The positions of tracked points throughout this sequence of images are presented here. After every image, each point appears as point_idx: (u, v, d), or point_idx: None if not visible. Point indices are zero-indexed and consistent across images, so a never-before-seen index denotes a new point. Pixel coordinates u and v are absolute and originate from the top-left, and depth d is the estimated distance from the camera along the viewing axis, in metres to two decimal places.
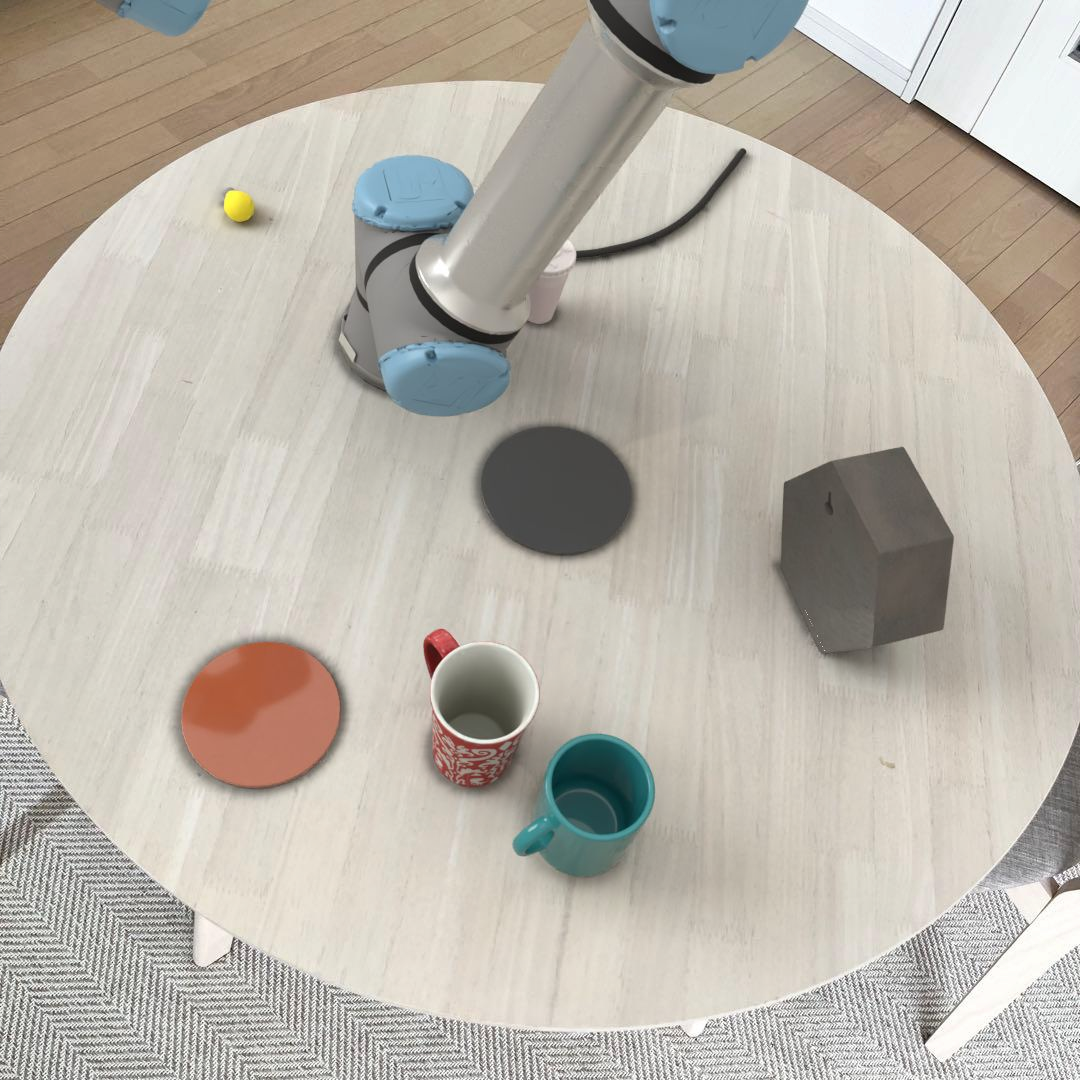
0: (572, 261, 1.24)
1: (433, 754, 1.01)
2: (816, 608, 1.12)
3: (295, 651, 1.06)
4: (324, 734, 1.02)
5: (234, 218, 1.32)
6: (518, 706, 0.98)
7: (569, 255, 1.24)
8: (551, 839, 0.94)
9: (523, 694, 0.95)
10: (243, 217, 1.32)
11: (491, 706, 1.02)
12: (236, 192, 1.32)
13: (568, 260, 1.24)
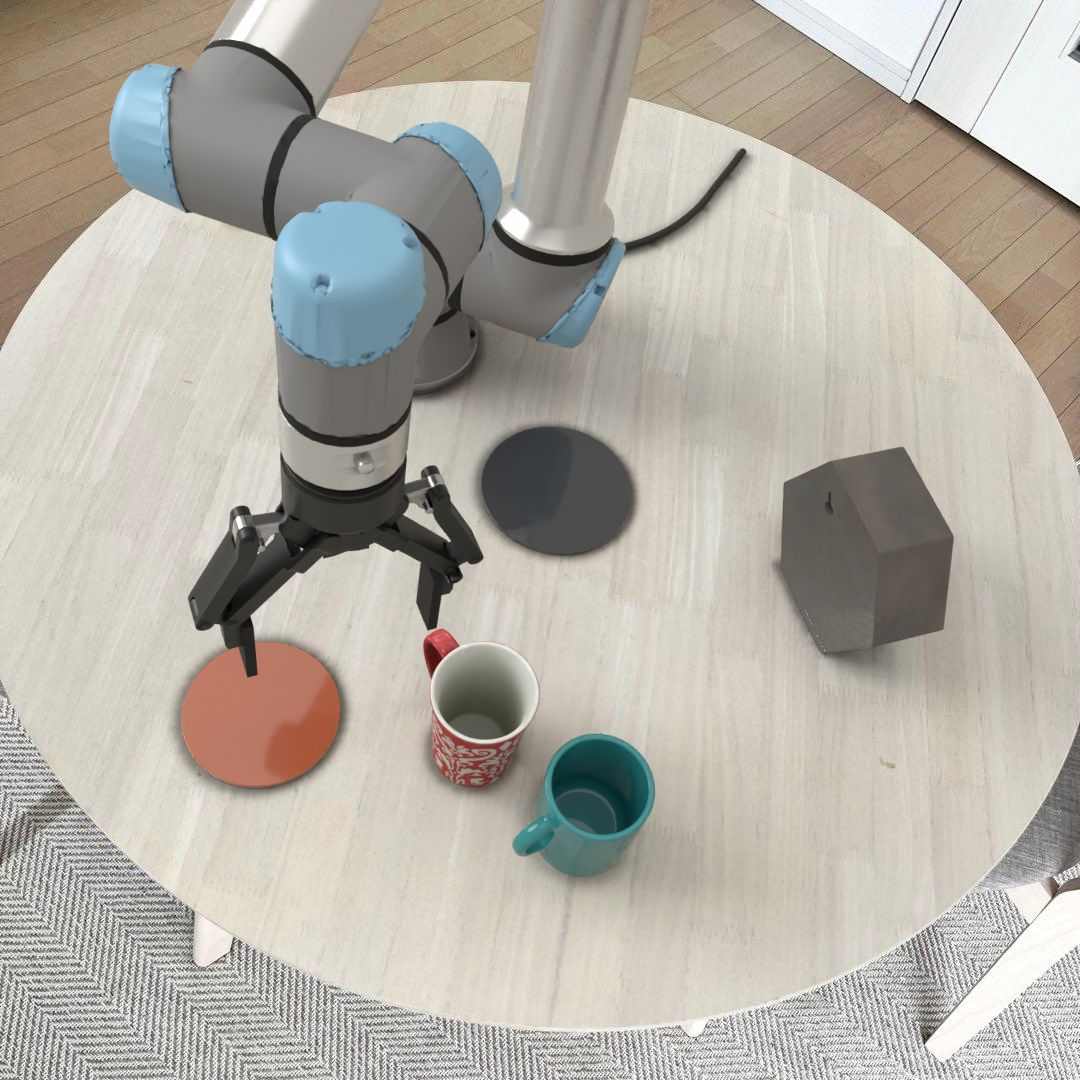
0: None
1: (433, 754, 1.01)
2: (816, 608, 1.12)
3: (295, 651, 1.06)
4: (324, 734, 1.02)
5: None
6: (518, 706, 0.98)
7: None
8: (551, 839, 0.94)
9: (523, 694, 0.95)
10: None
11: (491, 706, 1.02)
12: None
13: None
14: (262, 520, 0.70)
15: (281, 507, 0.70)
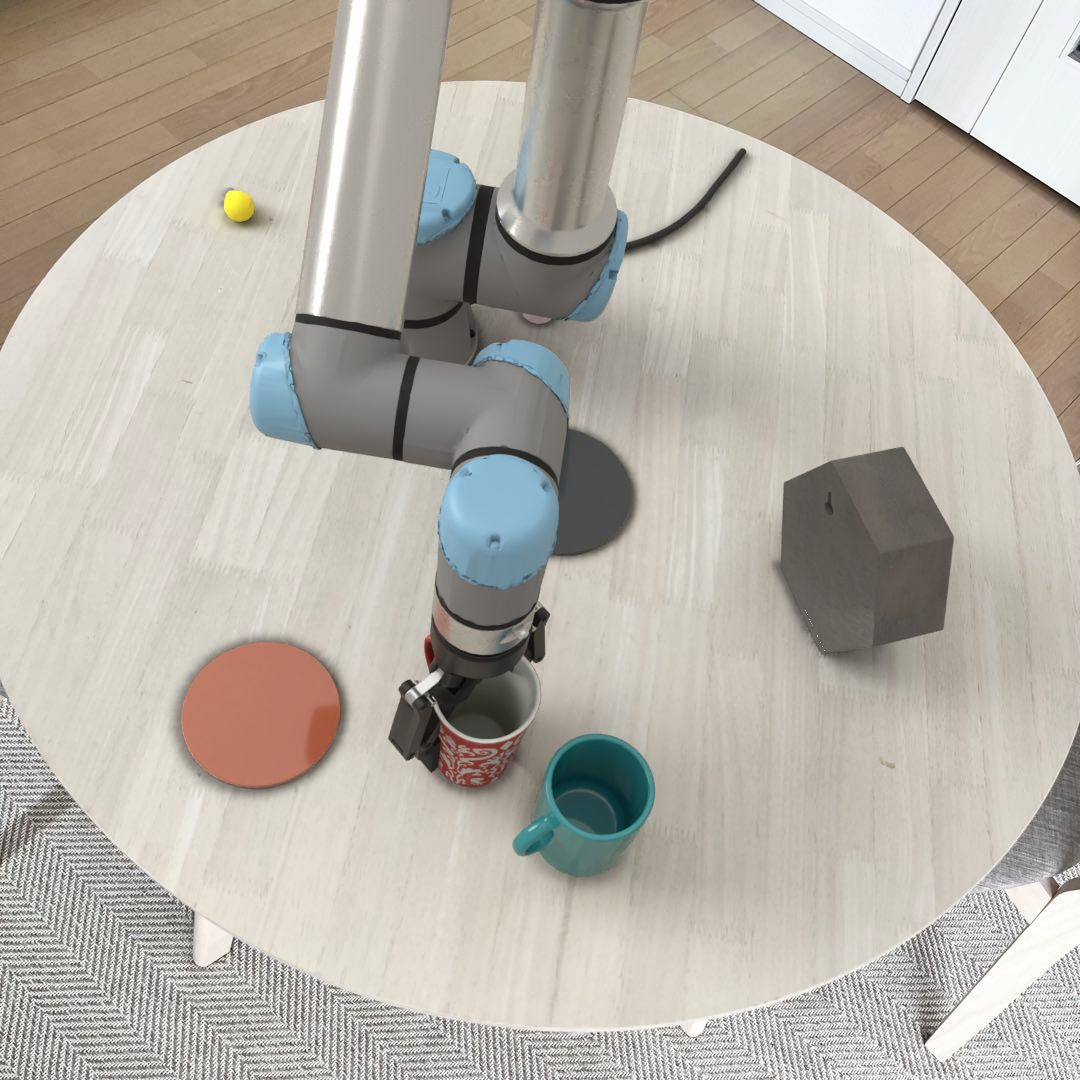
0: None
1: None
2: (816, 608, 1.12)
3: (295, 651, 1.06)
4: (324, 734, 1.02)
5: (234, 218, 1.32)
6: (519, 706, 0.98)
7: None
8: (551, 839, 0.94)
9: (524, 694, 0.95)
10: (243, 217, 1.32)
11: (491, 706, 1.02)
12: (236, 192, 1.32)
13: None
14: (425, 686, 0.86)
15: (435, 666, 0.86)
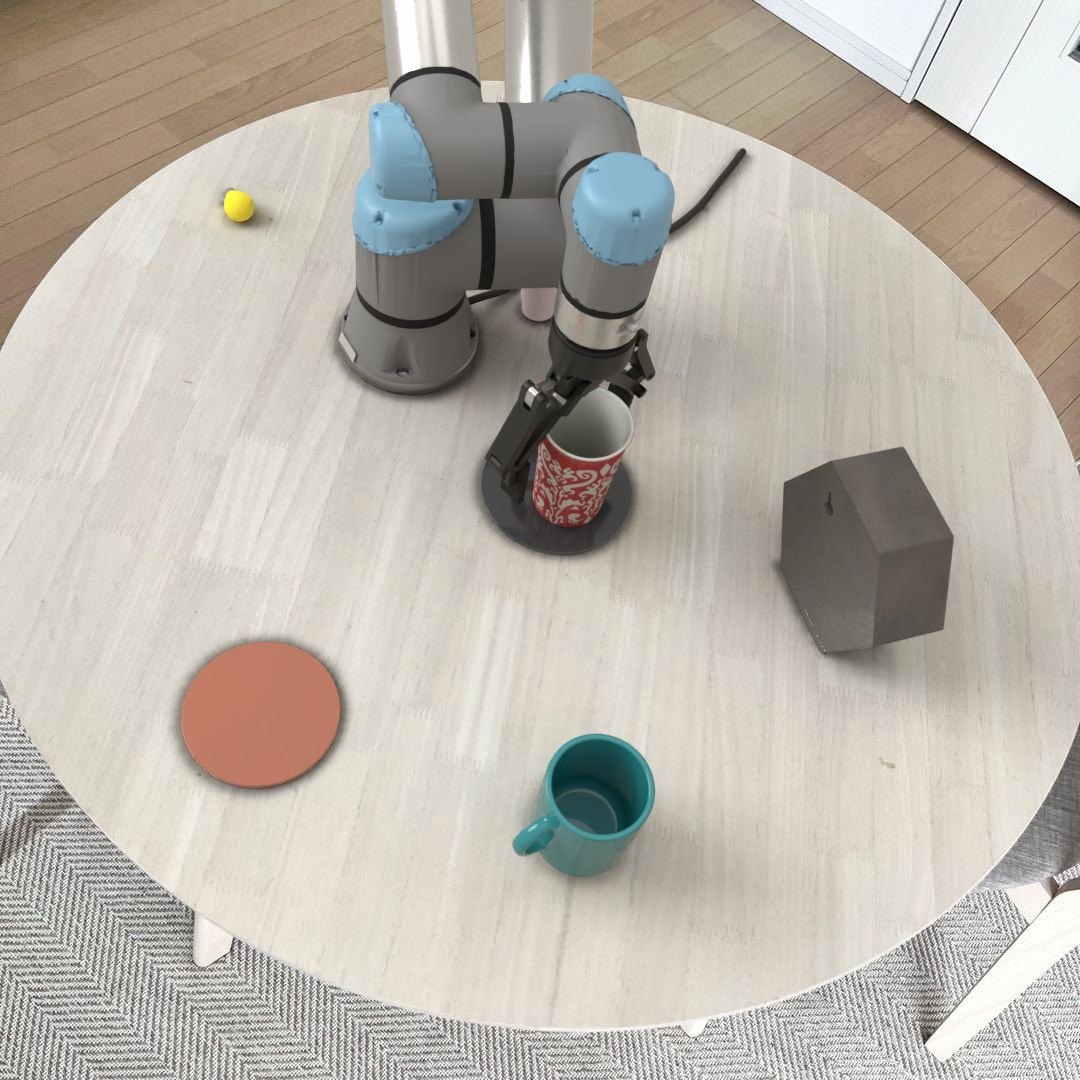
0: None
1: (534, 498, 1.16)
2: (816, 608, 1.12)
3: (295, 651, 1.06)
4: (324, 734, 1.02)
5: (234, 218, 1.32)
6: (611, 448, 1.13)
7: None
8: (551, 839, 0.94)
9: (617, 432, 1.10)
10: (243, 217, 1.32)
11: (584, 458, 1.17)
12: (236, 192, 1.32)
13: None
14: (545, 386, 1.00)
15: (552, 373, 1.00)
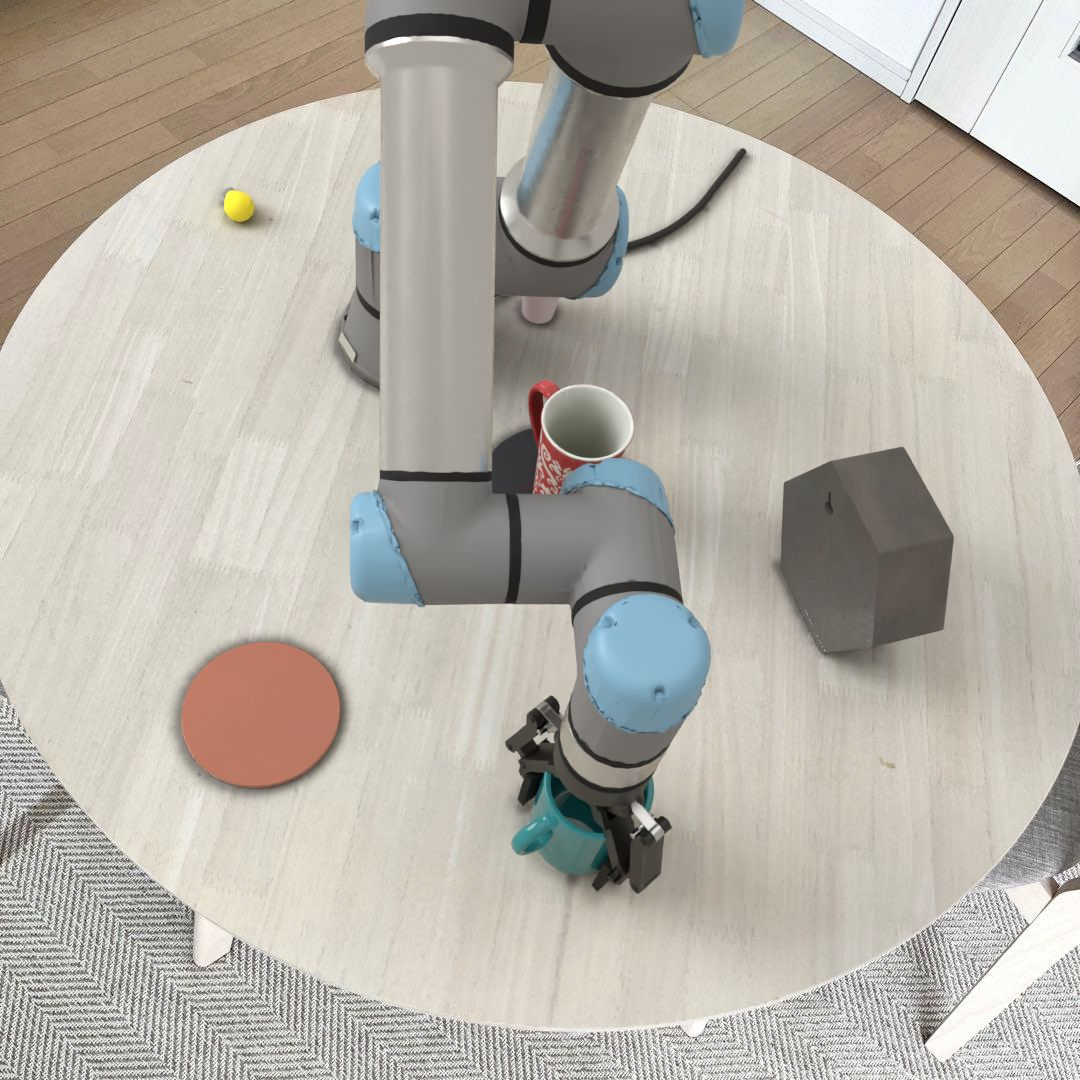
0: None
1: None
2: (816, 608, 1.12)
3: (295, 651, 1.06)
4: (324, 734, 1.02)
5: (234, 218, 1.32)
6: (611, 448, 1.13)
7: None
8: (550, 838, 0.94)
9: (617, 432, 1.10)
10: (243, 217, 1.32)
11: (584, 458, 1.17)
12: (236, 192, 1.32)
13: None
14: (647, 819, 0.84)
15: (630, 806, 0.83)
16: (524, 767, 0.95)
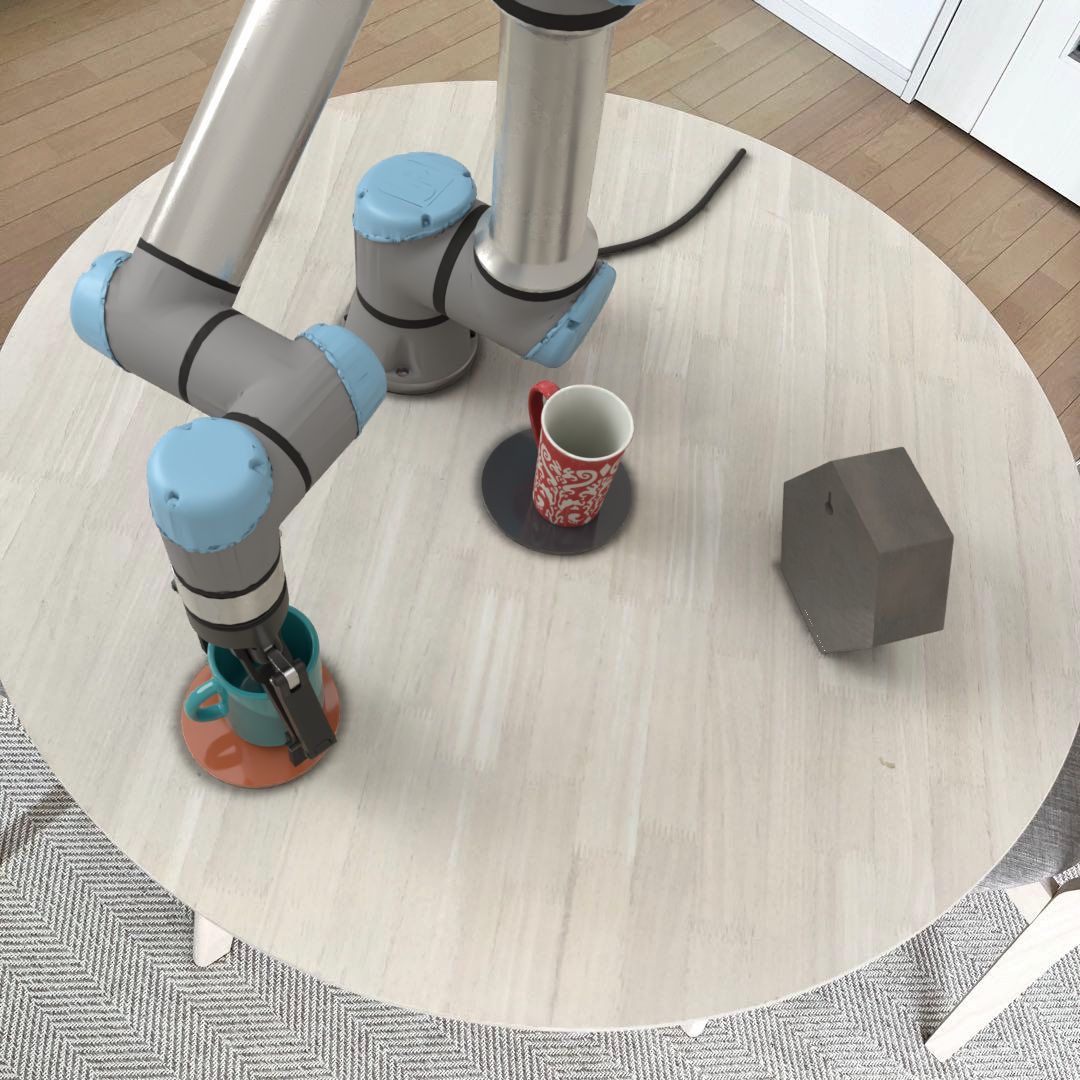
0: None
1: (534, 498, 1.16)
2: (816, 608, 1.12)
3: None
4: None
5: None
6: (611, 448, 1.13)
7: None
8: (223, 704, 0.96)
9: (617, 432, 1.10)
10: None
11: (584, 458, 1.17)
12: None
13: None
14: (281, 661, 0.85)
15: (264, 651, 0.85)
16: None
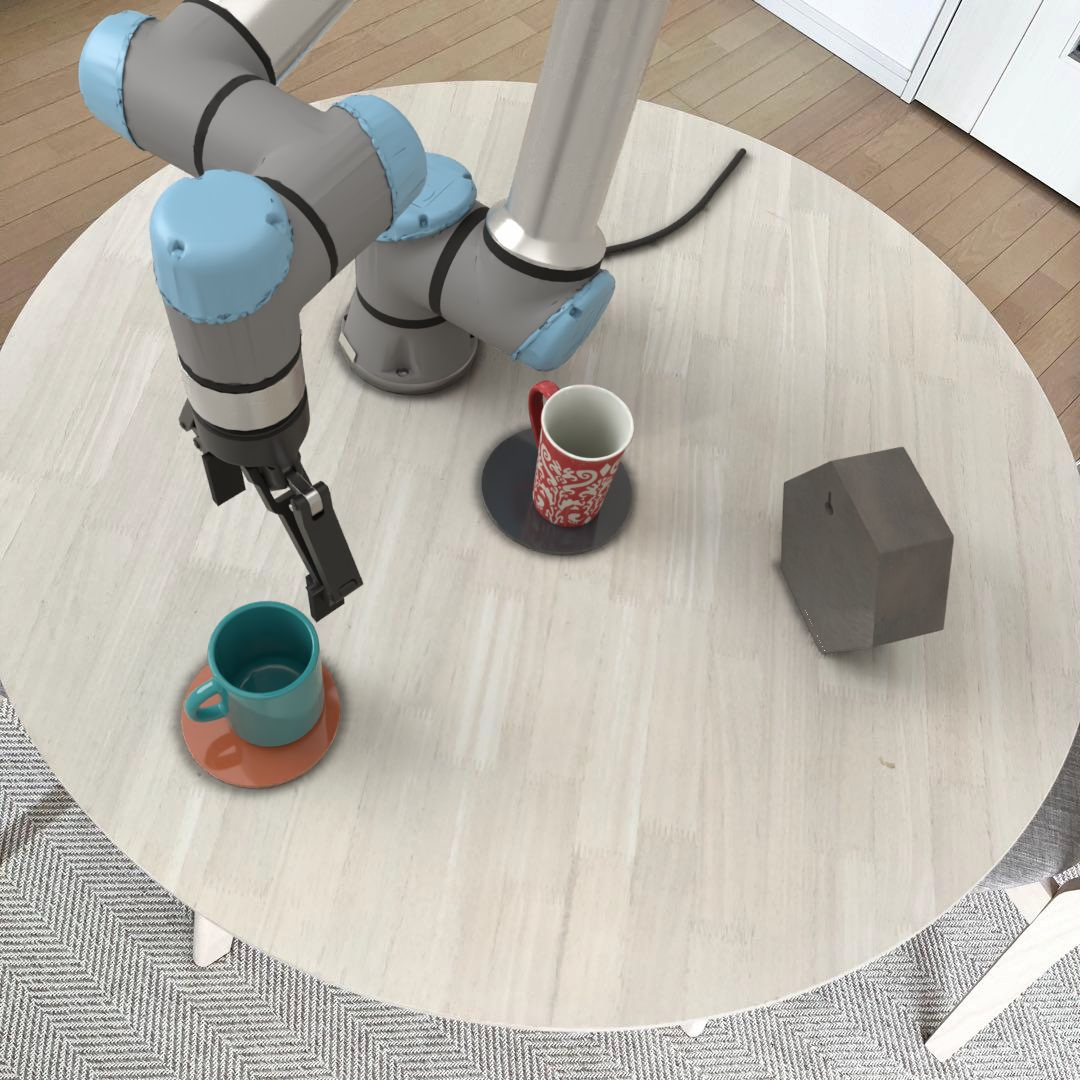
0: None
1: (534, 498, 1.16)
2: (816, 608, 1.12)
3: None
4: (324, 734, 1.02)
5: None
6: (611, 448, 1.13)
7: None
8: (223, 704, 0.96)
9: (617, 432, 1.10)
10: None
11: (584, 458, 1.17)
12: None
13: None
14: (301, 483, 0.76)
15: (282, 473, 0.76)
16: (198, 446, 0.87)
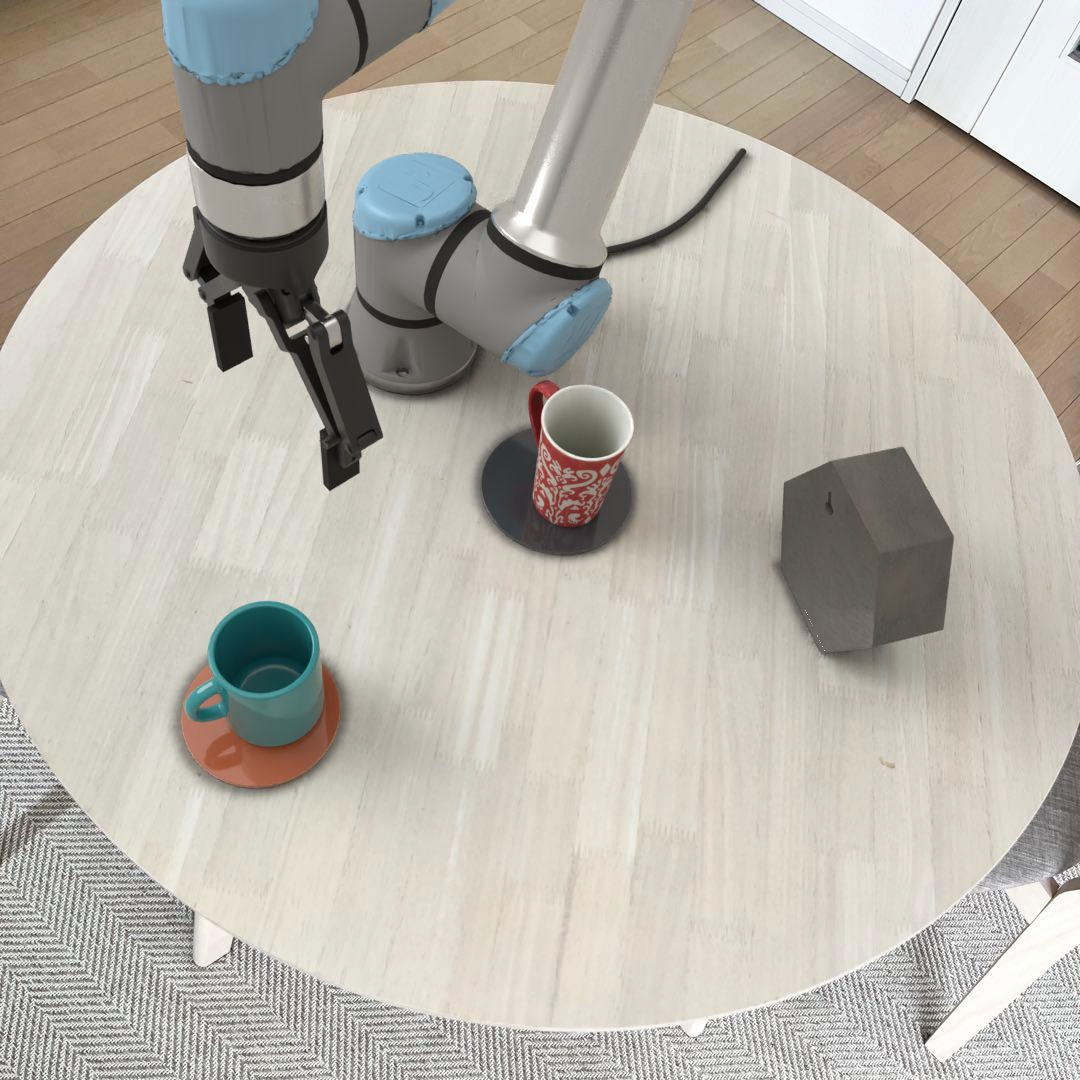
0: None
1: (534, 498, 1.16)
2: (816, 608, 1.12)
3: None
4: (324, 734, 1.02)
5: None
6: (611, 448, 1.13)
7: None
8: (223, 704, 0.96)
9: (617, 432, 1.10)
10: None
11: (584, 458, 1.17)
12: None
13: None
14: (319, 311, 0.70)
15: (298, 300, 0.70)
16: (203, 297, 0.81)
